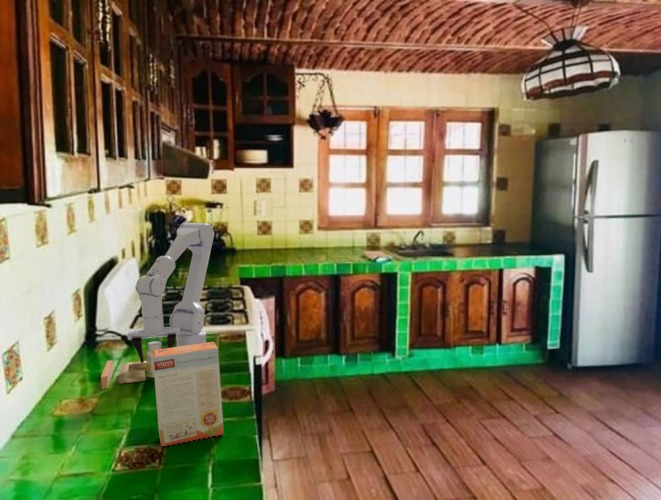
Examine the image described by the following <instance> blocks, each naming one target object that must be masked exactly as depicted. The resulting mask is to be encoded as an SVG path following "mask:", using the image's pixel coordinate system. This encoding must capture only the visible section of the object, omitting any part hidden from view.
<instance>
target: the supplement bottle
mask: <svg viewBox="0 0 661 500" xmlns="http://www.w3.org/2000/svg"><path fill="white" fill-rule="evenodd" d="M162 343H163V342H162V341H158V340H157V341H150V342H147V349H148V350H147V351H146V352H145V361H146V362H147V371H146V372H147V374H146V375H147V376H148V377H149V378H154V365H153V353H152V351H153V350H157V349H163V348H162V347H163V344H162Z"/></svg>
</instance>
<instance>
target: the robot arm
mask: <svg viewBox="0 0 661 500" xmlns="http://www.w3.org/2000/svg"><path fill="white" fill-rule="evenodd" d="M214 238H215V231H214V229H213V227H212V225H211V224H210V223H209V222H202V223H201V222H185V221H184V222H182V223H181V224H180V225H179V227H178V228H177V230H176V237H175V239H174V240H173V242H172V243H171V245H170V247H169V248H168V250H167V252H166V253H165V255H161V256H158V257H157V258H156V259H155V262H154V263H153V265H152V266H151V267H150V269H149V270H148V271H147V272H146V274H145V275H142V276H141V277H139V278H138V280H137V281H136V285H135V286H134V288H135V291H136V293H137V294H138V297H139V300H140V301H141V314H142V315H141V316H142V325H143V327H142V328H143V329H140V330H134V331H128V332H127V341H131V343H132V344H131V345H132V346H133V347H134V349H135V350H136V353H137V354H138V356H139V360H140V362H141V363H144V361H145V357H144V350H143V339H148V338H157V337H158V338H159V337H166V341H167V343H166V345H167V348H172V347H174V344H175V342H176V347H179V346H187V345H194V344H201V343H207V333H206V330H203V328H204V326H205V309H204V308H203V307H202V306H201V304H200V303H201V302H200V301H201V297H202V292H203V287H204V283H205V280H206V275H207V271H208V270H207V269H208V267H209V261H210V255H211V250H212V246H213V241H214ZM186 249H188V250H190V251H191V253H192V256H191V259H190V260H191V261H190V263H189V264H190V265H189V270H188V274H187V278H186V283H185V286H184V291H183V295H182V300H180V302H178V303H177V304H176V305H174V308H173V311H172V313H171V314H170V317H169V326H170V327H165V326H164V314H163V313H164V312H163V302H162V294H163V293H165V290H166V286H167V285H166V284H167V281H168V279H169V277H170V276H171V275H172V273H173V272H174V270H176V261H177V260H178V259H179V257H180V256H181V255H182V254H183V253H184V252H185V250H186Z"/></svg>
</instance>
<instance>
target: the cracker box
mask: <svg viewBox="0 0 661 500" xmlns="http://www.w3.org/2000/svg"><path fill="white" fill-rule="evenodd" d="M152 353H153V365H154V377H153V378H154V389H155V390H154V391H155V400H156V401H155V402H156V411H157V413H156V415H157V424H158V433H159V441H160V446H165V447H168V446H167V445H170V446H173V444H175V445H178V444H177V443H180V444H184V443H183V442H185V443H189V442H188V441H190V442H194V441H193V440H195V441H199V440H198V439H200V440H204V439H203V438H205V439H209V438H208V437H210V438H213V437H212V436H216V437H220V436H219V435H221V436H224V435H223V434H224V433H225V432H224V420H223V419H224V417H223V416H224V415H223V404H222V403H223V402H222V401H223V400H222V389H221V373H220V360H219V359H220V358H219V348H218V346H217V344H216V343H215V341H210V342H206V343H201V344H194V345H187V346H179V347H177V346H175V347H174V346H173V347H172V348H168V347H167V348H162V349H157V350H153V351H152Z"/></svg>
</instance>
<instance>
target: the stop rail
mask: <svg viewBox="0 0 661 500" xmlns="http://www.w3.org/2000/svg"><path fill="white" fill-rule="evenodd" d="M113 362H114V360H107V361H106V364H105V365H104V368H103V370H102V373H101V375H100V382H101V389H102V390H105V389H109V386H110V383H111V380H112V377H113V374H114V372H115V371H114V363H113Z"/></svg>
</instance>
